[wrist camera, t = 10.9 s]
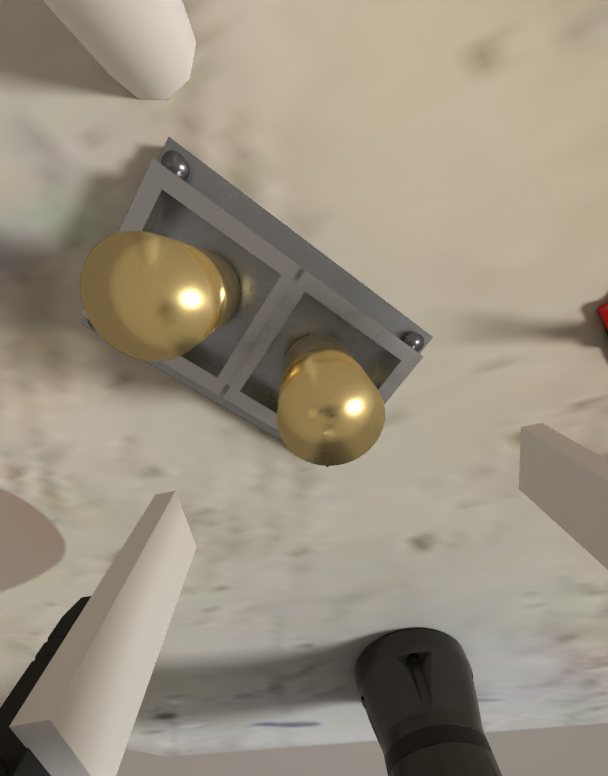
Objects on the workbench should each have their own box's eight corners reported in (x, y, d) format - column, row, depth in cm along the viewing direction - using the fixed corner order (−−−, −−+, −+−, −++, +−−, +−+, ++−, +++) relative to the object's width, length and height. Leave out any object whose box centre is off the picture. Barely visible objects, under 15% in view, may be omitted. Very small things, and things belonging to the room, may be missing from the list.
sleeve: (325, 414, 28) (342, 482, 19) (268, 378, 27) (256, 432, 18) (367, 360, 27) (407, 404, 18) (308, 319, 26) (317, 344, 16)
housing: (325, 455, 32) (344, 553, 21) (95, 320, 27) (-45, 353, 16) (423, 332, 28) (511, 370, 17) (178, 147, 23) (72, 26, 12)
